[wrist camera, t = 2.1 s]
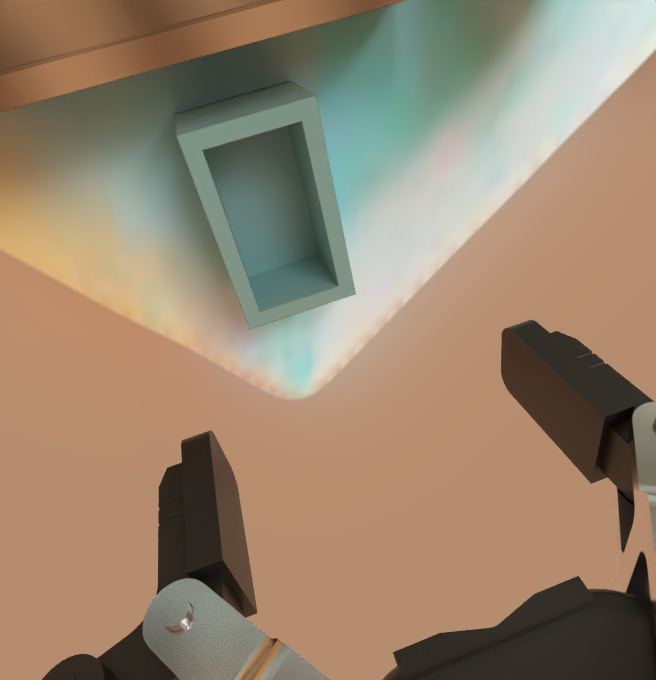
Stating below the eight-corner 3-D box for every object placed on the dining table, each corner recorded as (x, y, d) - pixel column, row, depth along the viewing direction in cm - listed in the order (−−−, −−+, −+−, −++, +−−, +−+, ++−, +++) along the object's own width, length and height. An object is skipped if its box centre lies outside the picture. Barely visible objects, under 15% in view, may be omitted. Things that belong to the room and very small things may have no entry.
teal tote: (290, 80, 24) (315, 95, 20) (330, 256, 30) (355, 294, 26) (174, 114, 24) (176, 135, 20) (238, 285, 30) (249, 329, 26)
